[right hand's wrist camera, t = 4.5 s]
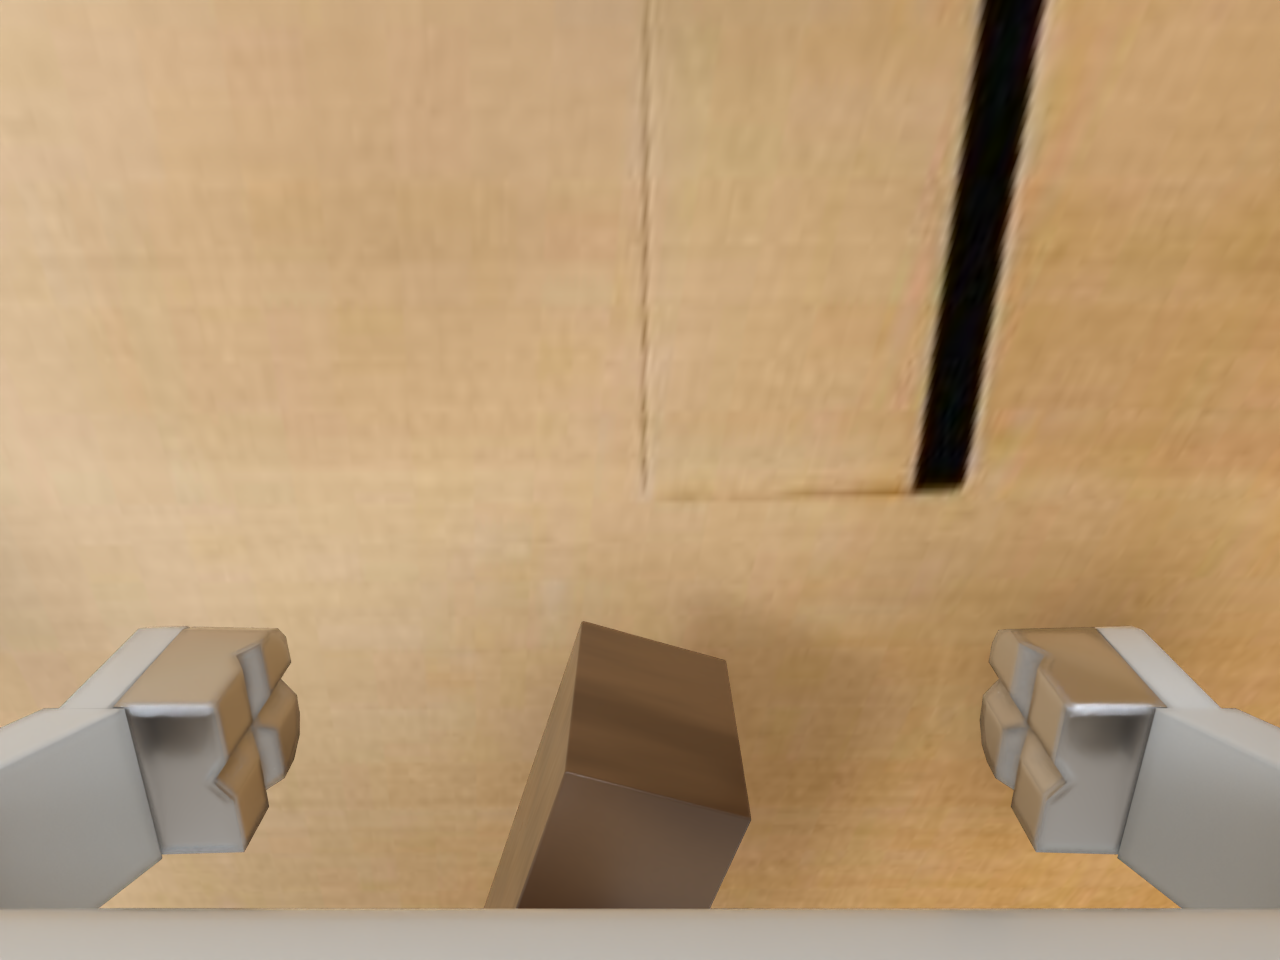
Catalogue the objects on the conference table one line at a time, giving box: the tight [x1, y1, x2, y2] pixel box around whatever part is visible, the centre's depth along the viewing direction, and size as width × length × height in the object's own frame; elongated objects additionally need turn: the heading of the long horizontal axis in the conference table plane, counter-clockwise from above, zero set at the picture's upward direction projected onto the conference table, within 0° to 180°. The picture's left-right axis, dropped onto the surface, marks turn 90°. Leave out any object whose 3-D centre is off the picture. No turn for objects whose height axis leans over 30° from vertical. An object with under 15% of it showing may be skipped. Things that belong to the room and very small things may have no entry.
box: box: [484, 621, 751, 909], centre depth 35 cm, size 22×6×9 cm, turn 162°
